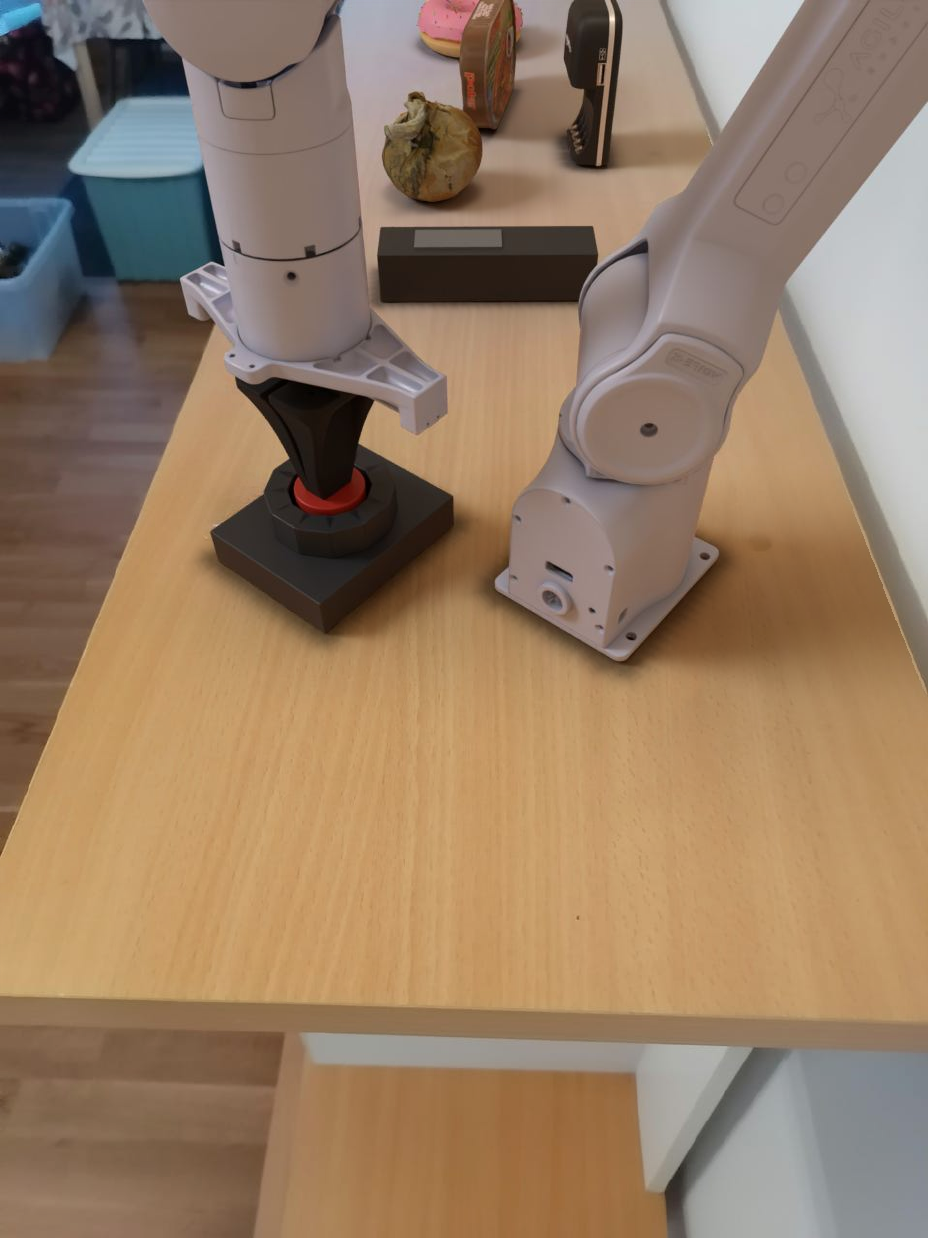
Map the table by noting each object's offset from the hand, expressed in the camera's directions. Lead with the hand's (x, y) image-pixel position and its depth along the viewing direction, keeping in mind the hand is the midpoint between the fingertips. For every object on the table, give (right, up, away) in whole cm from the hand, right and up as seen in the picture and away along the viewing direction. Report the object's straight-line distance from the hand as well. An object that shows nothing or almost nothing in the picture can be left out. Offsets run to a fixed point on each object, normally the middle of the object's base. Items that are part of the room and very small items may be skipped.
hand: (328, 485), depth 48 cm
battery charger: (+17, +34, +35) cm, 51 cm away
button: (0, -1, +1) cm, 2 cm away
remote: (+8, +17, +20) cm, 28 cm away
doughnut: (+7, +53, +52) cm, 75 cm away
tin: (+9, +41, +41) cm, 58 cm away
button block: (0, -3, +3) cm, 4 cm away
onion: (+4, +28, +30) cm, 41 cm away
